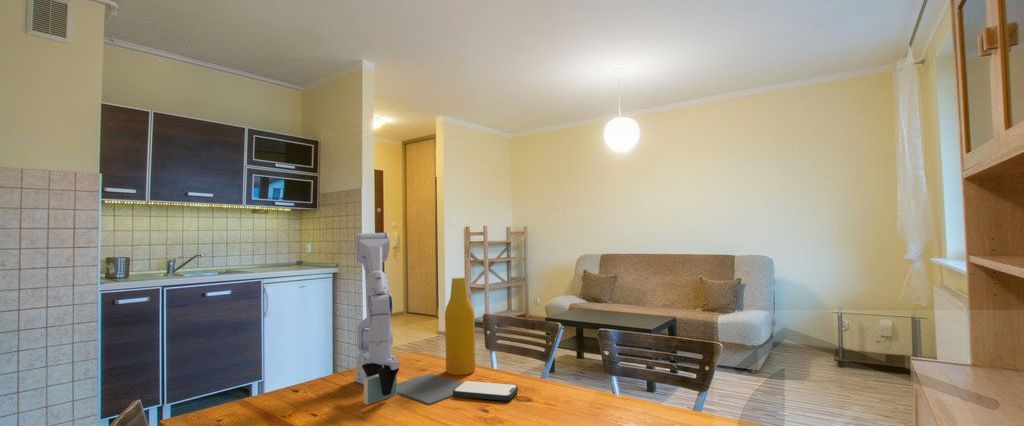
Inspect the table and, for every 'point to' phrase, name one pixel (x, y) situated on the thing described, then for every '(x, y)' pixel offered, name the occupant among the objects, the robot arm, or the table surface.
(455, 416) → the table surface
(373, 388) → the card deck
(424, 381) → the mat
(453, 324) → the beer bottle
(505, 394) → the phone case
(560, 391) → the table surface
